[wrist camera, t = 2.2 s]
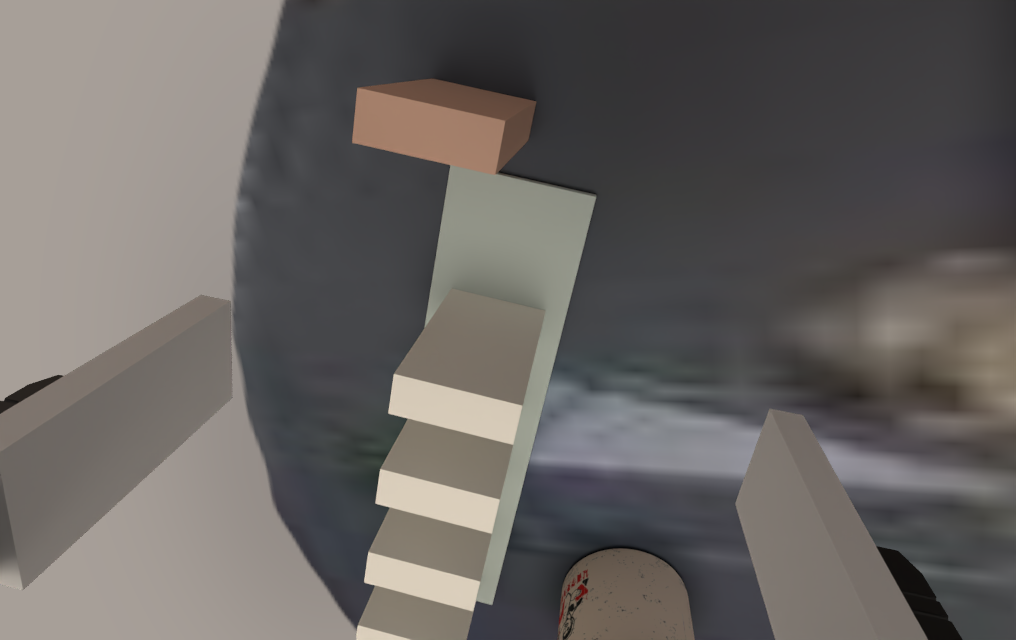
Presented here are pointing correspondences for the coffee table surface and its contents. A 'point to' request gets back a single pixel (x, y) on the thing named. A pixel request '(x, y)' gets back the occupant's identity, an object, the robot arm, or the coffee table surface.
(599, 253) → the coffee table surface
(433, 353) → the domino
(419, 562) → the domino
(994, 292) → the coffee table surface
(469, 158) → the domino
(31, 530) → the robot arm
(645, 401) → the coffee table surface
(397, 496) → the domino
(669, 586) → the teacup with lid
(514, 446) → the strip
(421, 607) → the domino
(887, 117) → the coffee table surface
